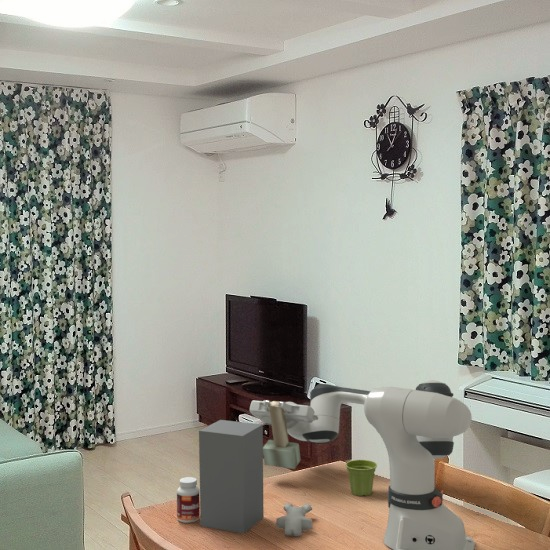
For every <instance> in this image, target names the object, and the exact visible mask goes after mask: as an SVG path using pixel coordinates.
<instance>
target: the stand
mask: <svg viewBox="0 0 550 550" xmlns="http://www.w3.org/2000/svg"><path fill="white" fill-rule="evenodd" d="M263 425H264V424H263V423H261V424H260V423H250V422H245V421H243V422H242V421H235V420H234V421H233V420H225V419H219V420H217V421H216V422H213V423H211V424H209V425H208V426H206V427H202V428H201V429H200V430H198V448H199V449H198V453H199V460H198V461H199V462H198V463H199V502H200V517H199V519H200V520H199V521H200V522H199V523H200V527H204V528H209V529H216V530H221V531H227V532H231V533H237V534H243V535H245V534H246V533H247V532H248V531H249V530H250V529H252V528H253V527H254V526H255V525H257V524H258V523H259V522H260V521H261V520H262V519H264V518H265V516H264V515H265V514H264V513H265V512H264V510H265V509H264V456H263V447H264V440H263V439H264V437H263V436H264V435H263V434H264V431H263V430H264V429H263V428H264V427H263Z"/></svg>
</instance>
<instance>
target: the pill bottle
mask: <svg viewBox="0 0 550 550" xmlns="http://www.w3.org/2000/svg"><path fill="white" fill-rule="evenodd" d="M197 480H198V479H197V478H196V477H192V476H186V477H182V478H180V479H179V487H178V488H177V490H176V519H177V521H179V522H181V523H184V524H190V523H194V522H197V521H198V520H199V519H200V487H198V485H197V484H198V483H197V482H198V481H197Z"/></svg>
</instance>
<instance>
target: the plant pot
mask: <svg viewBox="0 0 550 550" xmlns="http://www.w3.org/2000/svg"><path fill="white" fill-rule="evenodd" d="M345 467H346V470H347V473H348V477H349V479H348V480H349V485H350V492H351V494H352V495H354V496H357V497H361V496H370V495H371V494H372V493H373V487H374V480H375V479H374V478H375V472H376V470H377V467H378V464H377V463H376V462H375V461H372V460H368V459H354V460H350V461H349V460H348V461H347V462H346V463H345Z"/></svg>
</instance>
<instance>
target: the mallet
mask: <svg viewBox="0 0 550 550" xmlns="http://www.w3.org/2000/svg"><path fill="white" fill-rule="evenodd" d="M271 402H272V403H271V404H270V405H269V410H270V417H271V424H272V426H271V431H272V436H273V439H268V440H267V441H266V443H265V444H263V464H264V466H270V467H278V468H282V469H283V468H284V469H293V470H296V468H297V466H298V465H299V464H300V462H301V460H302V459H301V453H300V445H299V443H298V442H292V441H291V442H290V441H289V434H288V433H287V425H286V418H285V416H284V415H283V412H285V410H284V409H280V408H279V407H278V405H279V402H280V401H276V400H273V401H271Z"/></svg>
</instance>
